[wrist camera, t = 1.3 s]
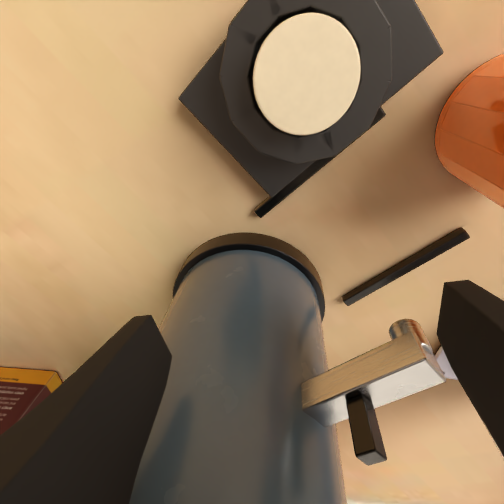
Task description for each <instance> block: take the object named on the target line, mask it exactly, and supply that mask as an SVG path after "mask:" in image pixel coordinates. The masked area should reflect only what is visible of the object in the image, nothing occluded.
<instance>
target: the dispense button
mask: <svg viewBox="0 0 504 504" xmlns="http://www.w3.org/2000/svg"><path fill="white" fill-rule="evenodd" d="M360 69H361V65H360V56H359V52H358V48H357V46H356V43H355V41H354V39H353V37H352V36H351V34H350V33H349V31H348V30H347V29H346V28H345V27H344V26H343V25H342V24H341V23H340V22H338V21H337V20H336V19H334V18H332V17H330V16H328V15H324V14H320V13H303V14H299V15H295V16H293V17H290V18H288V19H287V20H285V21H283V22H282V23H280V24H279V25H278V26H277V27H275V28H274V29H273V30H272V32H271V33H270V34H269V35H268V36H267V38H266V39H265V40H264V42H263V44H262V46H261V47H260V50H259V52H258V54H257V57H256V61H255V65H254V70H253V88H254V94H255V98H256V101H257V104H258V106H259V108H260V110H261V112H262V113H263V115H264V116H265V117H266V119H267V120H268V121H269V122H270V123H271V124H272V125H274V126H275V127H276V128H278V129H280V130H281V131H284V132H286V133H289V134H293V135H310V134H315V133H318V132H321V131H323V130H325V129H327V128H329V127H330V126H332V125H333V124H334V123H336V122H337V121H338V120H339V119H340V118H341V117H342V116H343V115H344V114H345V112H346V111H347V110H348V108H349V107H350V105H351V103H352V101H353V99H354V97H355V95H356V92H357V89H358V85H359V81H360Z"/></svg>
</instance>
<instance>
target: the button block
mask: <svg viewBox="0 0 504 504" xmlns="http://www.w3.org/2000/svg"><path fill="white" fill-rule="evenodd" d="M303 13H320V14H324V15H328V16H330V17H332V18H334V19H336V20H337V21H338V22H340V23H341V24H342V25H343V26H344V27H345V28H346V29H347V30H348V31H349V33H350V34H351V36H352V37H353V39H354V41H355V43H356V46H357V48H358V52H359V56H360V65H361V69H360V81H359V85H358V89H357V92H356V95H355V97H354V99H353V101H352V103H351V105H350V107H349V108H348V110H347V111H346V112H345V114H344V115H343V116H342V117H341V118H340V119H339V120H338V121H337V122H336V123H334V124H333V125H332V126H330V127H329V128H327V129H325V130H323V131H321V132H318V133H315V134H310V135H293V134H289V133H286V132H284V131H281V130H280V129H278V128H276V127H275V126H274V125H272V124H271V123H270V122H269V121H268V120H267V119H266V117H265V116H264V115H263V113H262V112H261V110H260V108H259V106H258V104H257V101H256V98H255V94H254V88H253V70H254V65H255V61H256V57H257V54H258V52H259V50H260V47H261V46H262V44H263V42H264V40H265V39H266V38H267V36H268V35H269V34H270V33H271V32H272V30H273V29H274V28H275V27H277V26H278V25H279V24H280V23H282V22H283V21H285V20H287V19H288V18H290V17H293V16H295V15H299V14H303ZM442 54H443V50H442V48H441V47H440V45H439V43H438V41H437V39H436V38H435V36H434V34H433V32H432V30H431V29H430V27H429V25H428V23H427V22H426V20H425V18H424V16H423V14H422V13H421V11H420V9H419V7H418V6H417V4H416V2H415V0H248V1H247V2H246V3H245V5H244V6H243V7H242V8H241V10H240V11H239V12H238V13H237V15H236V16H235V17H234V18H233V20H232V21H231V23H230V25H229V27H228V32H227V38H226V39H225V40H224V42H223V43H222V44H221V45H220V47H219V48H218V49H217V50H216V52H215V53H214V54H213V55H212V57H211V58H210V59H209V60H208V62H207V63H206V64H205V65H204V67H203V68H202V69H201V70H200V72H199V73H198V74H197V75H196V77H195V78H194V79H193V80H192V82H191V83H190V84H189V85H188V87H187V88H186V89H185V90H184V92H183V93H182V94H181V95H180V97H179V100H180V101H181V102H182V103H183V104H184V105H185V106H186V107H187V108H188V109H189V111H190V112H191V113H192V114H193V115H194V116H195V117H196V118H197V119H198V120H199V121H200V122H201V123H202V124H203V125H204V126H205V127H206V129H207V130H208V131H209V132H210V133H211V134H212V135H213V136H214V137H215V138H216V139H217V140H218V141H219V142H220V143H221V144H222V145H223V147H224V148H225V149H226V150H227V151H228V152H229V153H230V154H231V155H232V156H233V157H234V158H235V159H236V160H237V161H238V162H239V163H240V164H241V166H242V167H243V168H244V169H245V170H246V171H247V172H248V173H249V174H250V175H251V176H252V177H253V178H254V179H255V180H256V181H257V182H258V184H259V185H260V186H261V187H262V188H263V189H264V190H265V191H266V192H267V193H268V194H269V195H270V196H271V197H273V196H274V195H276V194H277V193H278V192H279V191H280V190H282V189H283V188H284V187H285V186H286V185H288V184H289V183H290V182H291V181H292V180H293V179H295V178H296V177H297V176H298V175H299V174H301V173H302V172H303V171H304V170H305V169H306V168H308V167H309V166H310V165H311V164H312V163H314V162H315V161H316V160H319V159H323V158H328V157H333V156H334V155H335V156H336V155H337V154H338V153H340V152H341V151H342V150H343V149H344V148H346V147H347V146H348V145H349V144H350V143H352V142H353V141H354V140H355V139H356V138H358V137H359V136H360V135H361V134H363V133H364V132H365V131H366V130H367V129H369V128H370V126H371V124H372V122H373V120H374V118H375V115H376V113H377V111H378V109H379V107H380V106H381V105H382V104H384V103H385V102H386V101H387V100H388V99H389V98H391V97H392V96H393V95H394V94H395V93H397V92H398V91H399V90H400V89H401V88H402V87H404V86H405V85H406V84H407V83H408V82H410V81H411V80H412V79H413V78H414V77H416V76H417V75H418V74H419V73H420V72H421V71H423V70H424V69H425V68H426V67H427V66H429V65H430V64H431V63H432V62H433V61H434V60H436V59H437V58H438V57H439V56H440V55H442Z"/></svg>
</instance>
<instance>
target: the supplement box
mask: <svg viewBox="0 0 504 504" xmlns="http://www.w3.org/2000/svg"><path fill="white" fill-rule="evenodd" d="M61 384H62V382H61V380H60V378H59V376H58V374H57V373H56V372H55V371H44V370H31V369H18V368H5V367H0V435H1V434H2V433H4V432H5V431H6V430H7V429H9V428H10V427H11V426H12V425H14V424H15V423H16V422H18V421H19V420H20V419H21V418H23V417H24V416H25V415H26V414H28V413H29V412H30V411H31V410H32V409H34V408H35V407H36V406H37V405H38V404H40V403H41V402H42V401H43V400H44V399H45V398H46V397H48V396H49V395H50V394H51V393H52V392H53V391H54V390H55V389H57V388H58V387H59V386H60V385H61Z"/></svg>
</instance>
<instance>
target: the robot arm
mask: <svg viewBox="0 0 504 504" xmlns="http://www.w3.org/2000/svg"><path fill="white" fill-rule="evenodd" d="M437 336H438V339H439V341H440V343H441V347H440V349H439V350H438V352H437V353H436V355H435V358H436V360H437V362H438V364H439V366H440V368H441V370H442V372H443V374H444V376H445V378H449V379H456V380H459V382H460V384H461V385H462V387H463V389H464V391H465V392H466V394H467V396H468V397H469V399H470V401H471V402H472V404H473V406H474V407H475V409H476V411H477V412H478V414H479V416H480V418H481V420H482V421H483V423H484V425H485V427H486V429H487V430H488V432H489V434H490V436H491V438H492V439H493V441H494V443H495V445H496V447H497V448H498V450H499V452H500V454H501V456H502V457H503V459H504V301H503V300H501V299H500V298H498V297H496V296H495V295H493V294H491V293H490V292H488V291H486V290H485V289H483V288H481V287H480V286H478V285H476V284H475V283H473V282H471V281H469V280H463V281H454V282H445V283H444V287H443V294H442V301H441V308H440V314H439V321H438V328H437ZM171 360H172V354H171V353H170V351H169V349H168V347H167V345H166V343H165V341H164V339H163V337H162V335H161V333H160V331H159V329H158V327H157V325H156V323H155V321H154V320H153V318H152V316H151V315H145V316H136V317H133V318H132V319H131V320H130V321H129V322H128V323H126V324H125V325H124V326H123V327H122V328H121V329H120V330H119V331H118V332H117V333H116V334H115V335H114V336H113V337H111V338H110V339H109V340H108V341H107V342H106V343H105V344H104V345H103V346H102V347H101V348H100V349H99V350H98V351H97V352H96V353H95V354H94V355H93V356H92V357H90V358H89V359H88V360H87V361H86V362H85V363H84V364H83V365H82V366H81V367H80V368H79V369H78V370H77V371H76V372H74V373H73V374H72V375H71V376H70V377H69V378H68V379H67V380H66V381H64V382H63V383H62V384H61V385H60V386H59V387H58V388H57V389H55V390H54V391H53V392H52V393H51V394H50V395H49V396H48V397H46V398H45V399H44V400H43V401H42V402H41V403H40V404H38V405H37V406H36V407H35V408H34V409H32V410H31V411H30V412H29V413H28V414H26V415H25V416H24V417H23V418H21V419H20V420H19V421H18V422H16V423H15V424H14V425H12V426H11V427H10V428H9V429H7V430H6V431H5V432H4V433H2V434H1V435H0V504H129V502H130V498H131V494H132V490H133V486H134V482H135V478H136V475H137V471H138V468H139V465H140V462H141V458H142V456H143V453H144V450H145V447H146V444H147V441H148V438H149V435H150V432H151V430H152V427H153V424H154V421H155V418H156V415H157V412H158V409H159V406H160V403H161V400H162V397H163V395H164V391H165V388H166V385H167V380H168V376H169V371H170V366H171Z"/></svg>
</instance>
